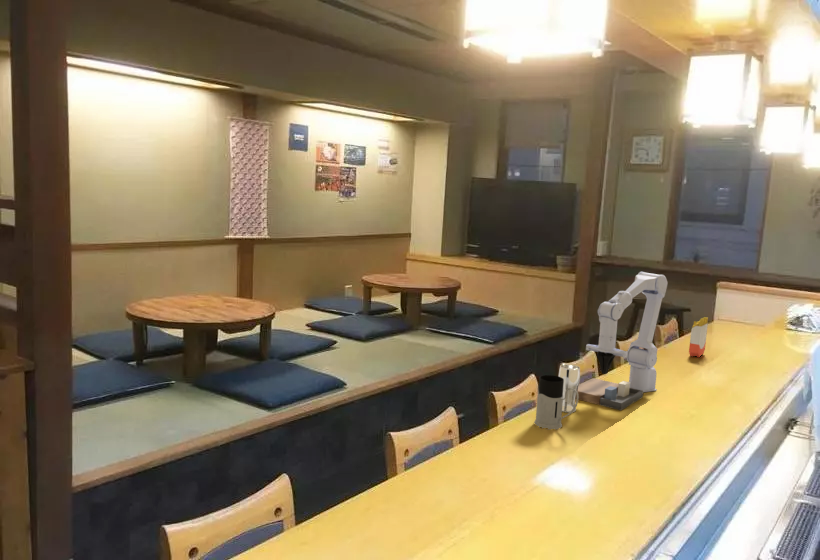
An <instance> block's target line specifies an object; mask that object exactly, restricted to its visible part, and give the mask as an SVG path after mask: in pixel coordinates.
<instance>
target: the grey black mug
mask: <svg viewBox="0 0 820 560" xmlns="http://www.w3.org/2000/svg"><path fill="white" fill-rule="evenodd" d="M538 380H539V381H538V386H537V398H536V412H535V413H536V414H535V420H534V421H533V424H534V423H535V424H536V425H537V426H539V427H538V428H540V427H542V428H541V429H543V428H548V429H547V430H551V429H555V430H559V428H560V429H561V427H562V428H563V424H562V420H563V419H565V418H567V417H568V416H569V415H571V414H573V413H574V412H573V411H574V410H575V408H576V409H577V407H578V403H579V400H578V398H579V396H578V392H577V391H576V390H575V389H573V388H569V389H567V390H566V392H565V398H563V385H564V379H563V378H561V377H559V375H551V374H545V375H540V376H539V379H538ZM570 389H572V390H574V391H575V392H576V395H577V399H576V400H575V407H574V408H573V410H572V411H571V412H570V413H567V414H565V415H564V416H563V415H562V414H563V412H562V404H563V400H564V399H566V397H567V392H568V391H569V390H570ZM572 412H573V413H572ZM535 424H534V425H535ZM536 425H535V426H536ZM537 426H536V427H537Z"/></svg>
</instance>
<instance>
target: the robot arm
mask: <svg viewBox="0 0 820 560" xmlns="http://www.w3.org/2000/svg"><path fill="white" fill-rule="evenodd" d="M668 283H669V282H668V279H667V277H666V276H665V275H664V274H656V273H649V272H645V271H639V272H638V274H636V275H635V277H634V281H633V282H632V284H630V285H629V287H628V288H626V290H619V291H618V292H617V294H615V295H614V296H613V297H612V298H610V299H609V300H608V301H603V302H602V303H600V305H599V307H598V309H597V315H598V321H599V323H600V324H599V334H598V335H599V337H598V344H590V343H587V344H586V346H585V351H588V352H589V351H590V352H597V354H596V358H597V359H598V363H599V365H600V370H601V374H603V375H607V374H608V373H609V370H610V367H611V365H612V362H613V361H614V359H615V358H616V357H622V358H624V359H626V360H627V362H628V366H630V367H629V368H630V369H629V378H628V382H630V388H633V389H638V390H642V391H643V393H648V392H654V391H657V390H658V389H656V385H657V384H656V383H657V370H656V368H655V367H654V366H655V365H656V364H657V361H658V357H657V356H658V355H657V354H658V348H657V347H656V346H655V345H654V344H655V343H653V339H654V334H655V332H656V327H657V323H658V319H659V314H660V311H661V305H662V301H663V298H665V296H666V292H667V288H668ZM640 293H642V295H645V297H646V302H645V306H644V311H643V315H642V319H641V323H640V327H639V331H638V336H637V339H636V340H633V341H631V342H630V344H629V348H628V349H627V350H626V351H625V350H622V349H619V348H616V341H617V334H618V333H617V330H618V320H619V319H621V317H622V315H623V313H624V311H625V309H627V307H629V306H630V305H631V304H632V302H633V298H635V297H636V296H637V295H639V294H640Z"/></svg>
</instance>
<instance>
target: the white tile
mask: <svg viewBox="0 0 820 560" xmlns="http://www.w3.org/2000/svg"><path fill="white" fill-rule="evenodd" d="M617 384H618V394H617V395H618V396H622V397H625V396H627V395H629V388H630V382H629V381H626V380H622V381H620V382H618V383H617Z"/></svg>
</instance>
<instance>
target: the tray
mask: <svg viewBox="0 0 820 560" xmlns="http://www.w3.org/2000/svg"><path fill="white" fill-rule="evenodd" d="M617 394H618V393H617ZM643 395H644V392H643V391H642V390H638V389H633V388H629V395H627V396H625V397H622V396H618V395H616V400H615V401H613V400H609V399H605V398H600V405H599V406H601V407H606V408H611V409H615V410H619V411H622V410H624V409H626V408H627V407H629V406H631V405H632V404H634V403H636V402H637V401H639V400H641V399H643Z"/></svg>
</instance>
